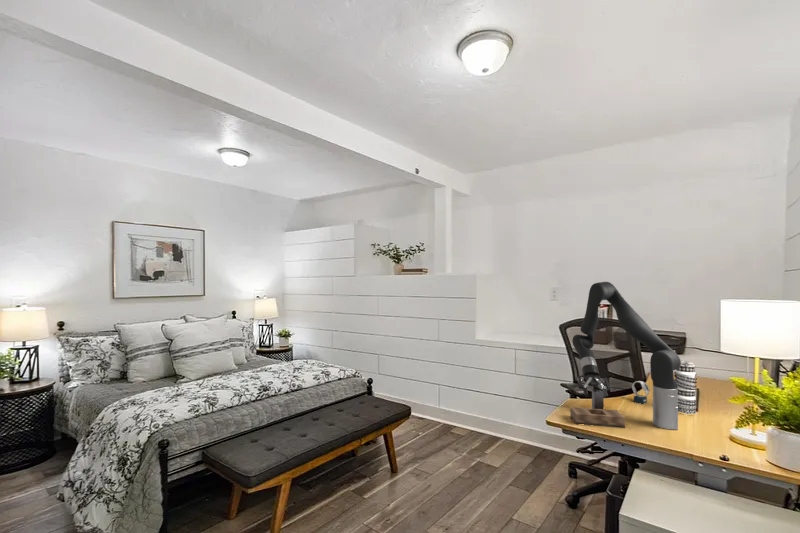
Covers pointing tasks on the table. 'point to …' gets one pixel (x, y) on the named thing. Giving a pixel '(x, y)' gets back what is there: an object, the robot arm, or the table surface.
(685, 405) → the model tower building
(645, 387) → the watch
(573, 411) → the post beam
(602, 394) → the grey rectangular block
